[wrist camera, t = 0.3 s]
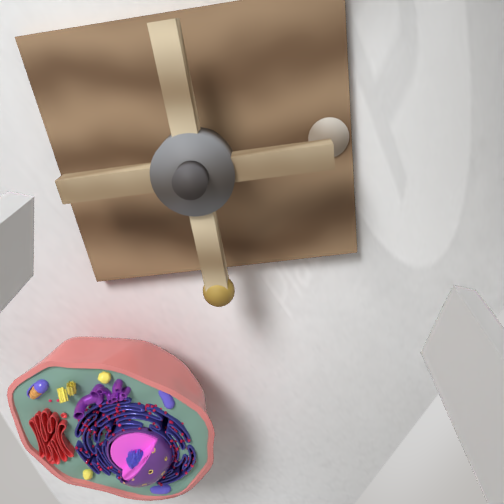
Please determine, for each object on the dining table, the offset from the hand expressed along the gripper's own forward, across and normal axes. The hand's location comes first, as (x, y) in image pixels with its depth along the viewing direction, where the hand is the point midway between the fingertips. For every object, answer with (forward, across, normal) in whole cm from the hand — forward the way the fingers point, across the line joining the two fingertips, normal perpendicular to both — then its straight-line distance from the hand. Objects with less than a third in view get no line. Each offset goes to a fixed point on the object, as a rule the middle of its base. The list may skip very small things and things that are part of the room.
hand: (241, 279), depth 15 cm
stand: (+26, -4, -4) cm, 27 cm away
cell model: (+26, -7, -30) cm, 40 cm away
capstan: (+22, -3, -5) cm, 22 cm away
